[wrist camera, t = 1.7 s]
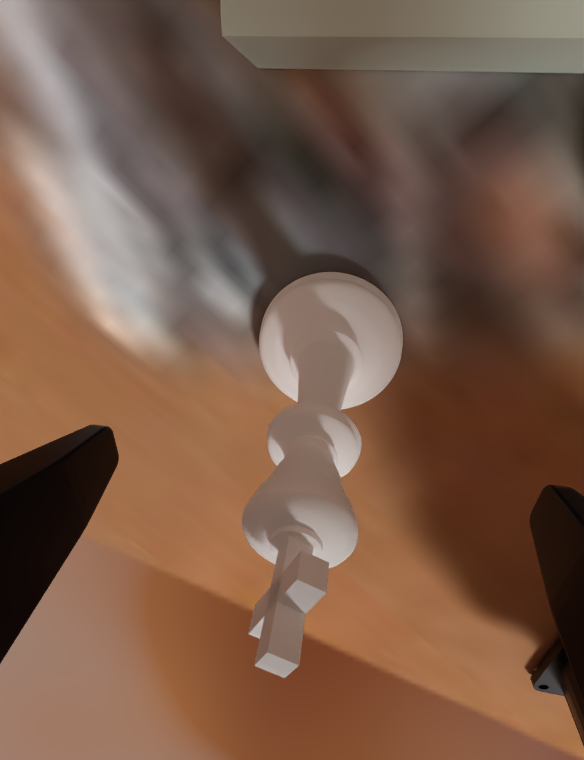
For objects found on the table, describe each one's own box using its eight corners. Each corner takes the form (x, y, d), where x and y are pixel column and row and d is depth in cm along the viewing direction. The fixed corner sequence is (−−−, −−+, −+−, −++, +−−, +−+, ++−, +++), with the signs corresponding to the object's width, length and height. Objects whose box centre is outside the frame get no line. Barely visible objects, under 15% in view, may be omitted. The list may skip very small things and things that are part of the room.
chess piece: (433, 316, 12) (598, 664, 4) (355, 421, 15) (349, 777, 6) (297, 243, 12) (138, 455, 3) (240, 365, 14) (65, 665, 6)
